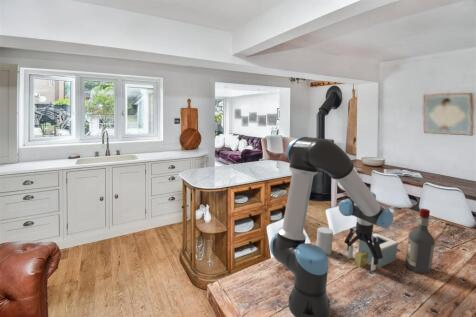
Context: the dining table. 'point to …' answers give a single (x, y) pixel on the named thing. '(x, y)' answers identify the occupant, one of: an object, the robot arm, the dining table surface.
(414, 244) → the liquor
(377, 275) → the dining table surface
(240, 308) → the dining table surface
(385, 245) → the open-top box
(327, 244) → the cup
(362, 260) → the block
